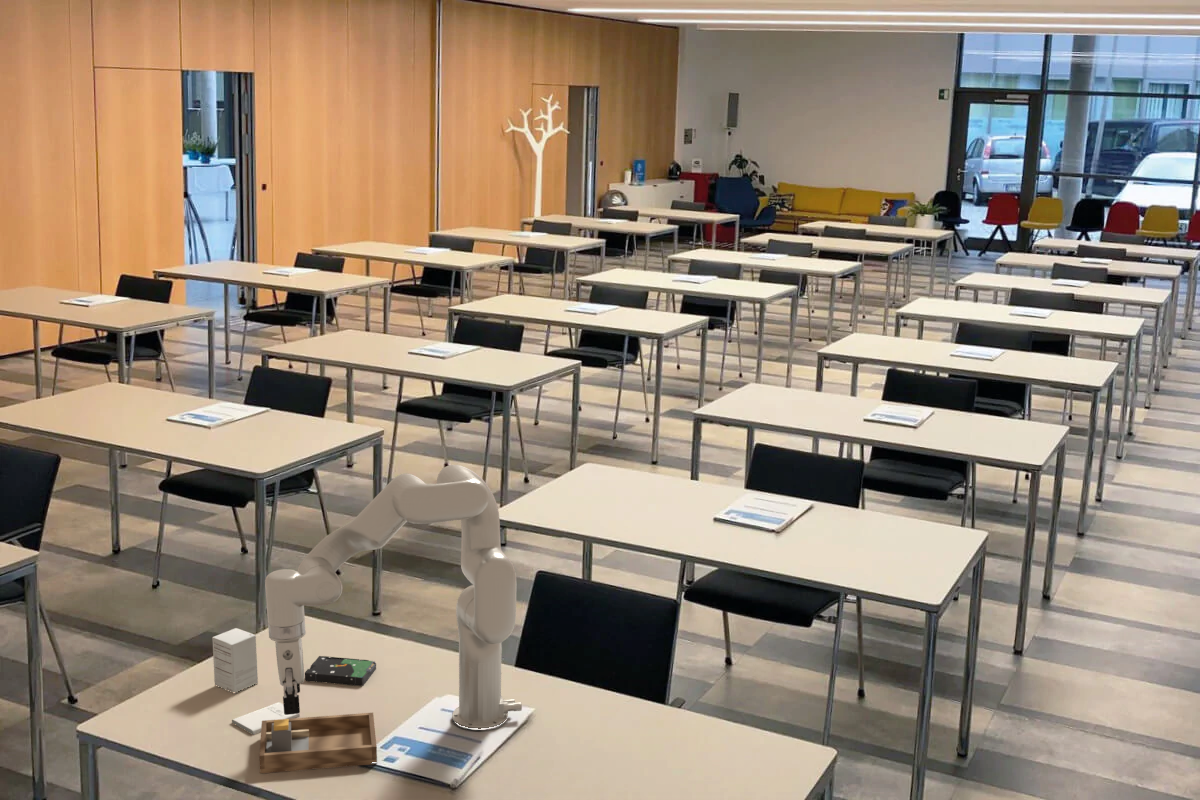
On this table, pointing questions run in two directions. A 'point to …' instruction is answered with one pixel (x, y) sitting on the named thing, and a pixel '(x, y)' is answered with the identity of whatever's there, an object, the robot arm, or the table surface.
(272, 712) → the external hard drive
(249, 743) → the table surface
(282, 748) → the block
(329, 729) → the crate
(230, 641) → the supplement box
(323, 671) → the disk drive
